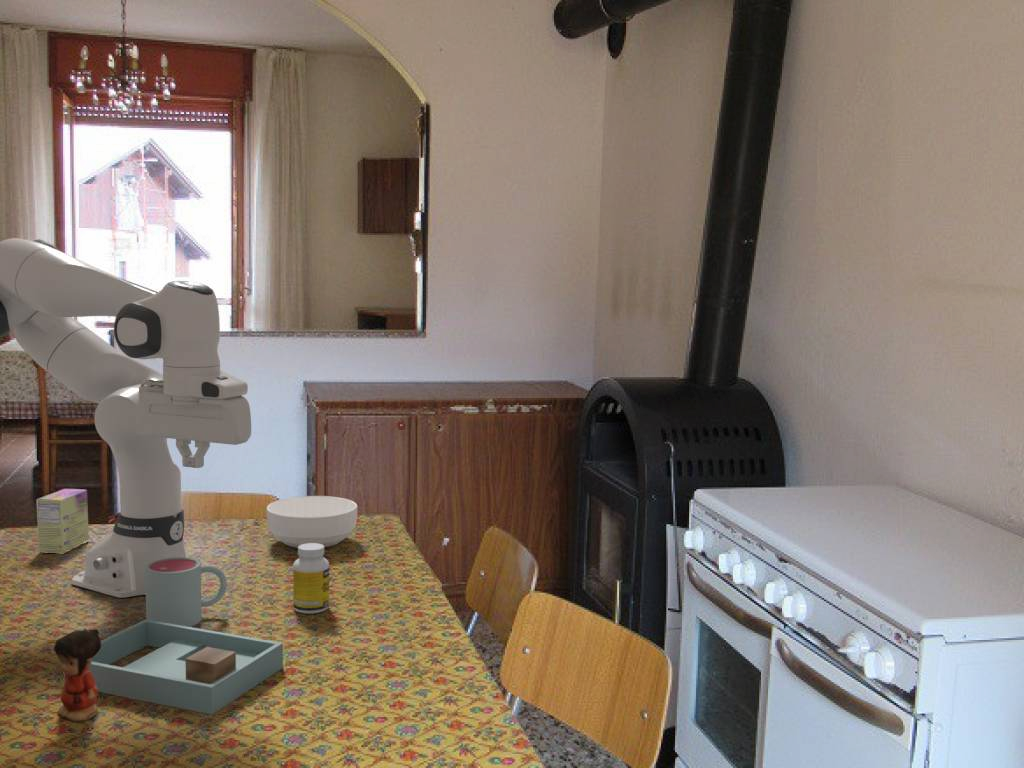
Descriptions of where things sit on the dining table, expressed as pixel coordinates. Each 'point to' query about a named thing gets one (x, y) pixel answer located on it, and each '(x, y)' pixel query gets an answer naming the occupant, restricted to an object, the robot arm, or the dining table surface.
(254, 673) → the tray
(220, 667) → the block
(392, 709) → the dining table surface
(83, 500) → the box
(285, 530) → the bowl
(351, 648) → the dining table surface
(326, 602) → the pill bottle
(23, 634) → the dining table surface
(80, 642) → the figurine
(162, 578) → the mug
